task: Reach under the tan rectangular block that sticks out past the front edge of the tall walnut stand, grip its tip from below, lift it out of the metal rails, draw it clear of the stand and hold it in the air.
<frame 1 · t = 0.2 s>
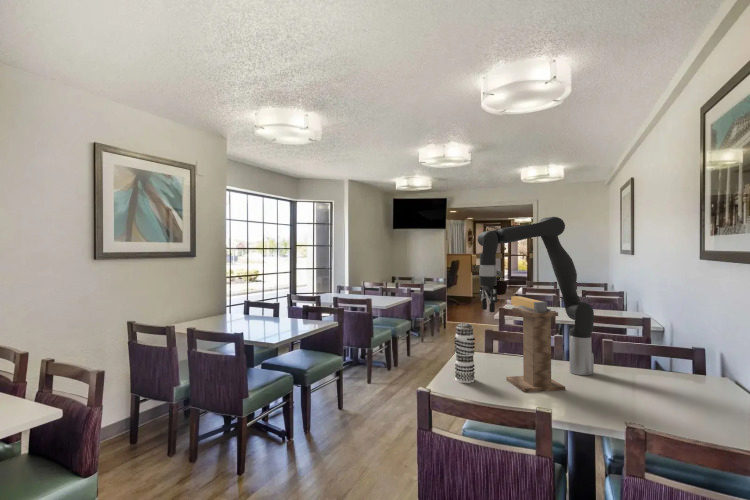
hand: (488, 310, 187), 30 cm above the table, tool pointing down, fingers open, 8 cm apart
tan rectangular block: (526, 307, 182), point 32 cm above the table, touching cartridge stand
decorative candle: (464, 380, 183), on the table
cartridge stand: (534, 384, 176), on the table
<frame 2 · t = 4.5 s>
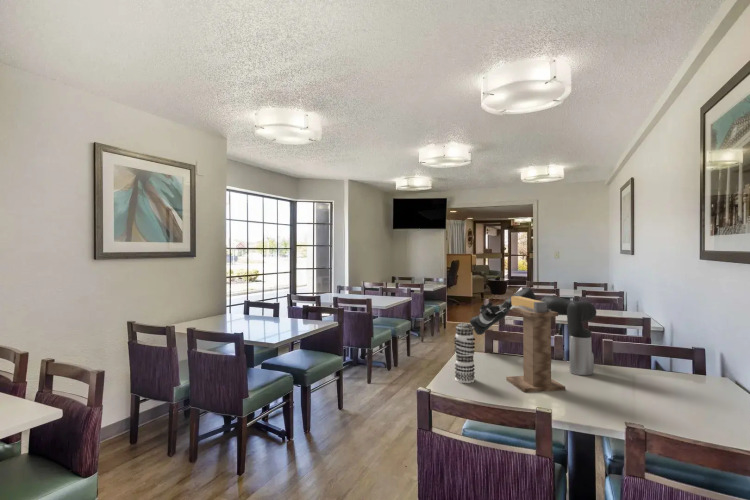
hand: (499, 303, 210), 31 cm above the table, tool pointing upward, fingers open, 8 cm apart
nothing on the table moved.
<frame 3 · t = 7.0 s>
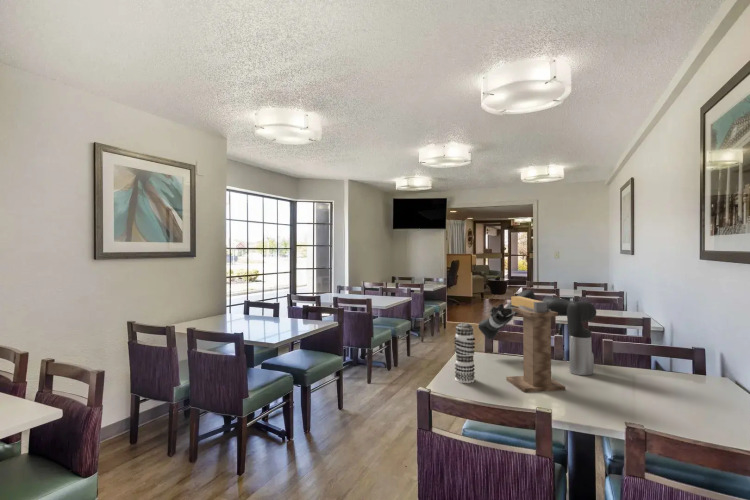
hand: (511, 305, 195), 31 cm above the table, tool pointing upward, fingers open, 8 cm apart
nothing on the table moved.
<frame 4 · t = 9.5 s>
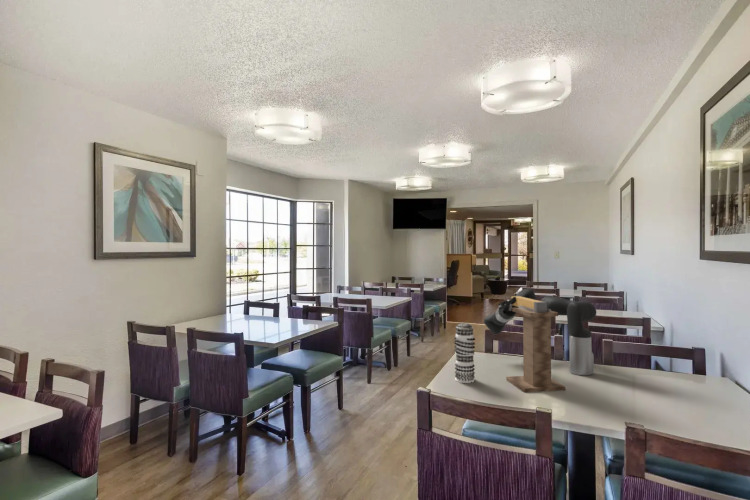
hand: (519, 298, 188), 35 cm above the table, tool pointing upward, fingers closed on tan rectangular block, 4 cm apart
tan rectangular block: (526, 307, 182), point 32 cm above the table, touching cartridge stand, gripper
everything else where it was.
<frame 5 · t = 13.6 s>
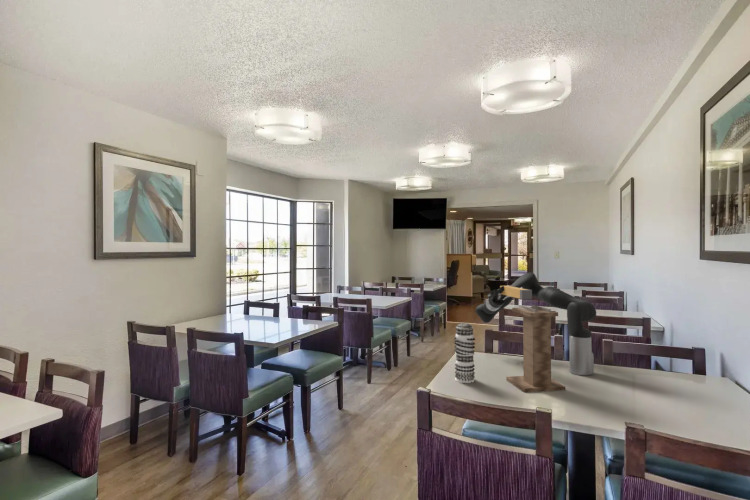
hand: (507, 287, 200), 39 cm above the table, tool pointing upward, fingers closed on tan rectangular block, 4 cm apart
tan rectangular block: (513, 296, 194), point 36 cm above the table, touching gripper
everything else where it was.
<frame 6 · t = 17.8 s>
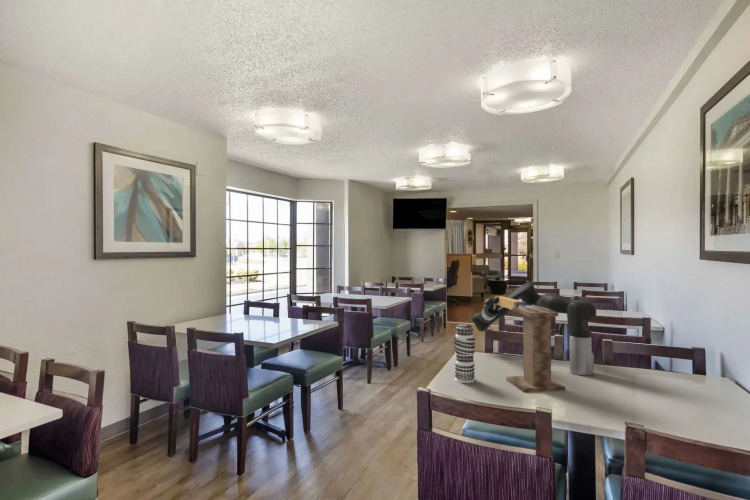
hand: (502, 298, 206), 33 cm above the table, tool pointing upward, fingers closed on tan rectangular block, 4 cm apart
tan rectangular block: (508, 307, 200), point 30 cm above the table, touching gripper
everything else where it was.
at the end: the gripper is holding tan rectangular block; tan rectangular block inside the target area (0.0 cm from its centre), point 29.9 cm above the table; tan rectangular block moved 18.1 cm from its start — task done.
